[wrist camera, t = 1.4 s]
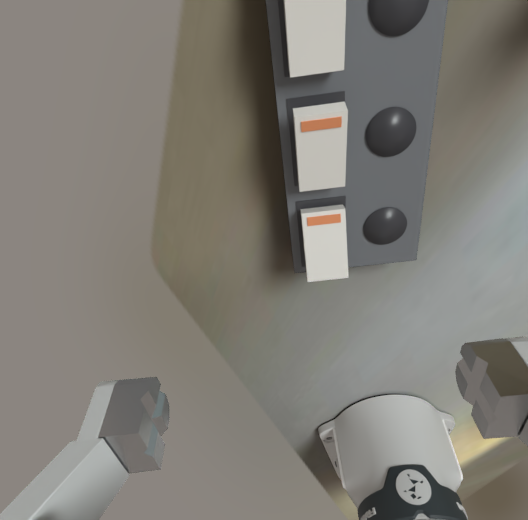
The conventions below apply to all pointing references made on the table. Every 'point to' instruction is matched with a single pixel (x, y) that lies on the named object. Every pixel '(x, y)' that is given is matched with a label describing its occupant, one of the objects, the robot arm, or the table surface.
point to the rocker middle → (321, 145)
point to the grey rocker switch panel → (369, 123)
